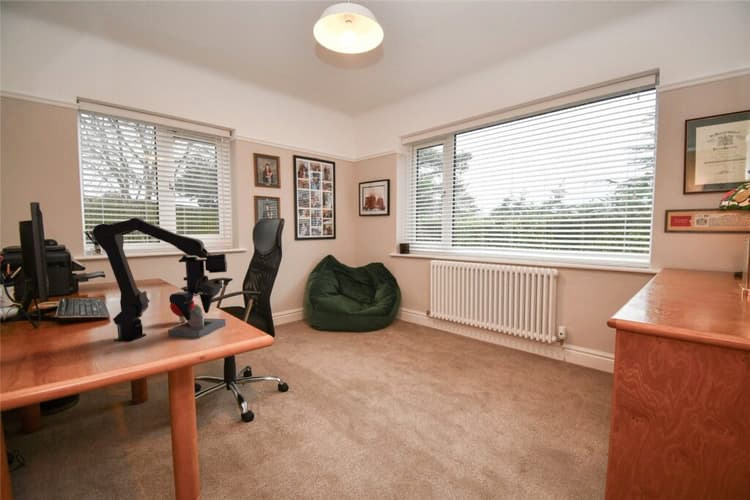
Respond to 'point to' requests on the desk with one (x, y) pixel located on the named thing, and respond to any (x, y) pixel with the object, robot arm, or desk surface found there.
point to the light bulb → (178, 312)
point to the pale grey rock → (196, 317)
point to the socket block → (196, 329)
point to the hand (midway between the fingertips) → (197, 316)
